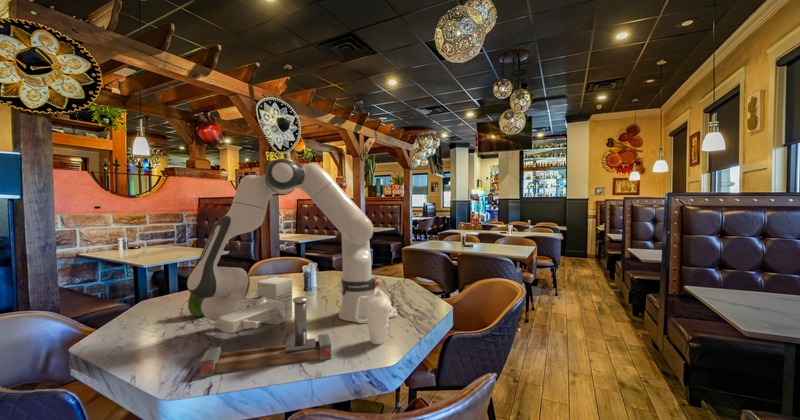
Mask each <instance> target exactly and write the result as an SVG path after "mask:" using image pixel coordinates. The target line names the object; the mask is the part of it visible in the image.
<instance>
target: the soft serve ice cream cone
mask: <svg viewBox="0 0 800 420" xmlns="http://www.w3.org/2000/svg"><path fill="white" fill-rule="evenodd" d="M384 293H385V292H384V291H382V290H381V291H378V292H377V293H376V295H374V296H373V297H371V298H370V299H369V300H367V301H366V304H365V305H364V306H365V310H366V315H367V323H366V324H367V325H366V326H367V328H368V333H369V337H370V342H371V344H372V345H382V344H385V342H386V337H387V332H388V327H389V319H390V318H389V314H390V313H389V312H390V310H391V306H392V303H391V304H390V302H389V301H388V300H387V299H386V298H385V296H384Z"/></svg>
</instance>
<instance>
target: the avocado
mask: <svg viewBox="0 0 800 420" xmlns="http://www.w3.org/2000/svg"><path fill="white" fill-rule="evenodd" d="M204 299H205V298H202V299H198V298H196V297H194V296H193V295H192V294H191V293H190V295H189V297H188V301H187V302H188V303H187V309H188V311H189V313H190V315H192V316H194V317H205V316H204V314H203V313H202V310H201V304H202V302H203V300H204Z"/></svg>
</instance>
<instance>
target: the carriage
mask: <svg viewBox="0 0 800 420" xmlns="http://www.w3.org/2000/svg"><path fill="white" fill-rule="evenodd" d="M308 300H309V299H308V297H307V296H296V297H294V298H293V297H292V303H294V304H293V305H294V307H293V309H294V313H293V314H294V340H291V341H286V342H285V345H286V353H290V352H298V351H306V350H313V349H316V342H315V341H316V338H310V339H309V338H308V337H307V328H308V327H307V302H308ZM307 338H308V339H307Z"/></svg>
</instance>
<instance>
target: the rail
mask: <svg viewBox="0 0 800 420" xmlns="http://www.w3.org/2000/svg"><path fill="white" fill-rule="evenodd" d="M317 338H318V340H315V342H316V349H313V350H306V351H298V352H290V353H286V344H283V345H276V346H275V345H274V346H269V347H268V346H267V347H260V348H253V349H252V348H251V349H244V350H236V351H228V352H222V346H213V347H208V348H207V350H206V352H205V353H204V355H203V356H202V358H201V360H200V361H199V362H200V364H199V365H200V378H204V377H205V378H206V377H213V376H215V374H219V373H228V372H235V371H241V370H248V369H256V368H263V367H269V366H276V365H283V364H285V365H286V364H291V363H299V362H305V361H307V362H308V361H311V360H312V361H313V360H319V361H323V360H324V361H325V360H330V359H331V360H332V341H331V339H330V334H329V333H323V334H322V333H321V334H318V336H317Z"/></svg>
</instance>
